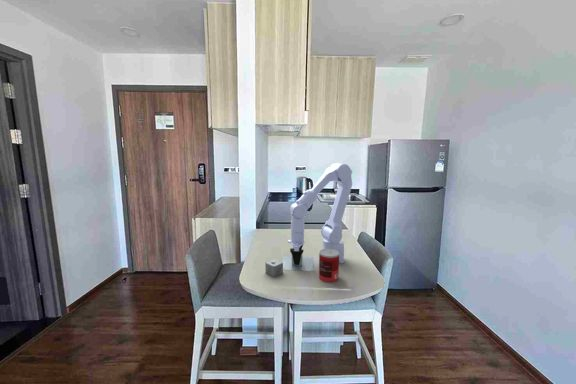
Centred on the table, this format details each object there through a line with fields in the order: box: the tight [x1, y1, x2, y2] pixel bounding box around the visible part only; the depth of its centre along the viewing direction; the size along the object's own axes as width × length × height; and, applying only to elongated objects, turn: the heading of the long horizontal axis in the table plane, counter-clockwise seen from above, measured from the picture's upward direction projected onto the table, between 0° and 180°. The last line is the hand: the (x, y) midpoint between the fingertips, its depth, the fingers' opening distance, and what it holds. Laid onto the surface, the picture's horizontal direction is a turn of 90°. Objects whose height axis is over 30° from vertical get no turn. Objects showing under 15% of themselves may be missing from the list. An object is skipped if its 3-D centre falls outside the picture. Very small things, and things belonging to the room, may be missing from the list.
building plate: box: [281, 255, 314, 272], centre depth 119 cm, size 14×14×1 cm
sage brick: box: [291, 252, 304, 265], centre depth 119 cm, size 4×4×4 cm
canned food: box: [318, 248, 340, 283], centre depth 106 cm, size 8×8×11 cm
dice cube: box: [264, 259, 284, 278], centre depth 110 cm, size 5×5×5 cm
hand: (297, 260), depth 119 cm, fingers open, 7 cm apart
